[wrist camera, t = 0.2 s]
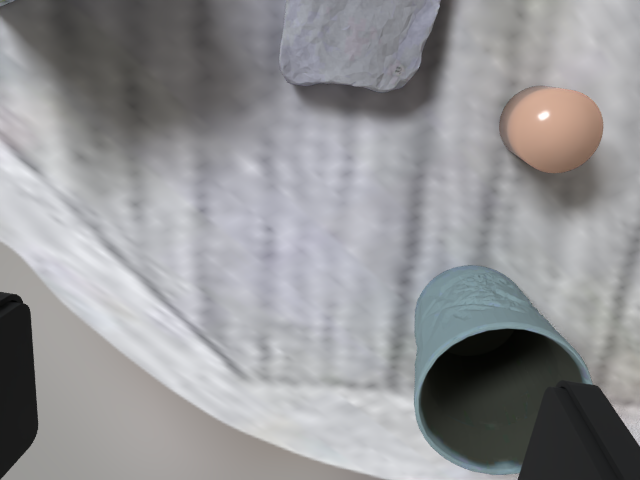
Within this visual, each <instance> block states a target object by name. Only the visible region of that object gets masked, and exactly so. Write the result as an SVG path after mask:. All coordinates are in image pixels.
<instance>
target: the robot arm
mask: <svg viewBox="0 0 640 480" xmlns="http://www.w3.org/2000/svg"><path fill="white" fill-rule="evenodd" d="M37 430H38V415H37V401H36V386H35V371H34V357H33V343H32V328H31V314H30V309H29V307H28V305H26V304H23V301H22V299H21V297H20V296H18V295H16V294H10V293H4V292H0V479H1V478H2V477H3V476H4V475H5V474H6V473H7V472H8V471H9V469H10V468H11V467H12V466H13V465H14V464H15V463H16V462H17V460H18V459H19V458H20V457H21V456H22V455H23V454H24V453H25V451H26V450H27V449H28V448H29V447H30V446H31V444H32V443H33V441H34V439H35V437H36V434H37ZM518 480H640V446H639V445H638V443H637V442H636V441H635V439H634V438H633V436H632V435H631V433H630V432H629V430H628V429H627V427H626V426H625V424H624V423H623V421H622V420H621V418H620V417H619V416H618V414H617V413H616V411H615V410H614V408H613V407H612V405H611V404H610V402H609V401H608V399H607V398H606V396H605V395H604V394H603V392H602V391H601V389H600V388H599V387H598V386H596V385H591V384H585V383H578V382H572V381H566V380H561V381H559V382H558V384H557V385H556V387H548V388H547V389H546V390H545V392H544V395H543V398H542V402H541V405H540V408H539V411H538V415H537V418H536V421H535V425H534V428H533V431H532V434H531V438H530V441H529V444H528V447H527V451H526V454H525V457H524V461H523V464H522V467H521V470H520V474H519V477H518Z"/></svg>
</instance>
